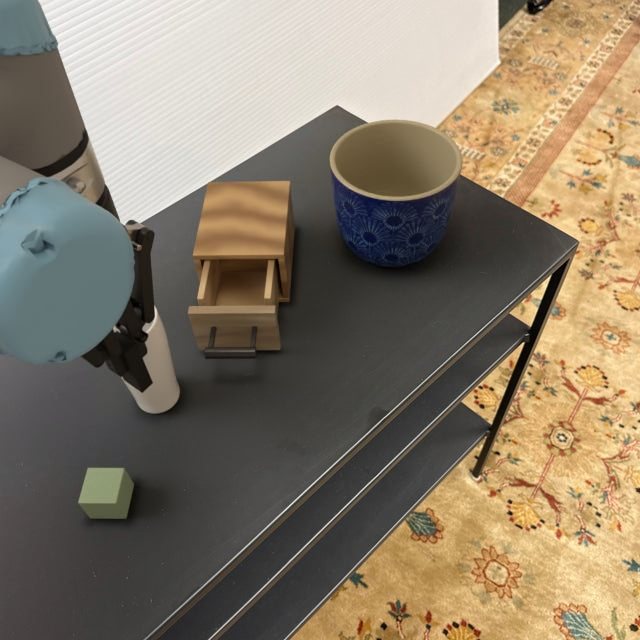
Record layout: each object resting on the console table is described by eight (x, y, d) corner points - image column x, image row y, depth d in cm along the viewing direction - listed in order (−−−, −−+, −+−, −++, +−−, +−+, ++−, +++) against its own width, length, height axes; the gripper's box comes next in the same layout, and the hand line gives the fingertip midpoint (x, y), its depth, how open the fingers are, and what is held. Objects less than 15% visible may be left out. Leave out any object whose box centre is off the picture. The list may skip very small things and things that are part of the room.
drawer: (277, 379, 79) (272, 343, 73) (193, 379, 79) (181, 343, 74) (286, 272, 90) (282, 234, 85) (212, 273, 91) (203, 235, 85)
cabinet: (289, 302, 88) (283, 254, 81) (205, 302, 88) (192, 255, 81) (294, 229, 97) (290, 180, 90) (218, 230, 98) (208, 181, 91)
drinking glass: (133, 377, 81) (96, 298, 69) (187, 371, 81) (159, 291, 70) (129, 424, 77) (89, 348, 65) (186, 417, 77) (156, 340, 65)
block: (89, 518, 69) (77, 503, 66) (99, 483, 72) (87, 467, 69) (126, 519, 69) (116, 503, 66) (134, 484, 72) (124, 467, 69)
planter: (349, 296, 88) (349, 210, 76) (320, 216, 99) (315, 130, 87) (466, 272, 90) (483, 185, 78) (426, 196, 101) (435, 109, 89)
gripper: (12, 273, 42) (114, 447, 60) (156, 170, 49) (209, 356, 67) (-53, 228, 45) (63, 408, 63) (91, 137, 52) (159, 324, 70)
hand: (138, 381), depth 65 cm, fingers closed
